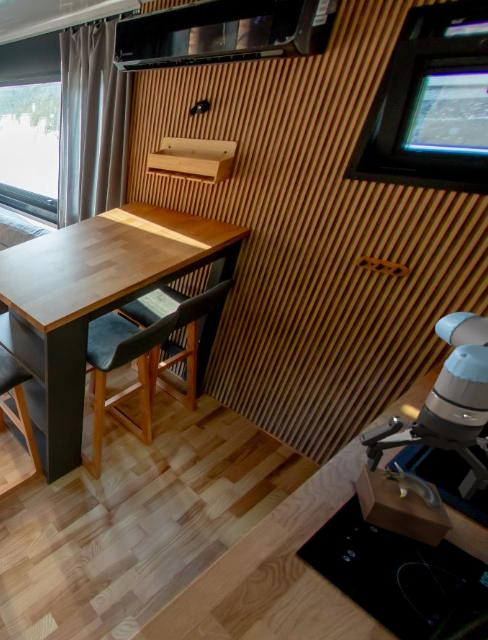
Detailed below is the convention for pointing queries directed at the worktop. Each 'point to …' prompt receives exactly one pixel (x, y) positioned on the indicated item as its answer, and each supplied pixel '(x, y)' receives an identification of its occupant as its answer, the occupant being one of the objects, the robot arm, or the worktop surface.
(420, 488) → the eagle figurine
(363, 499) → the walnut pedestal
